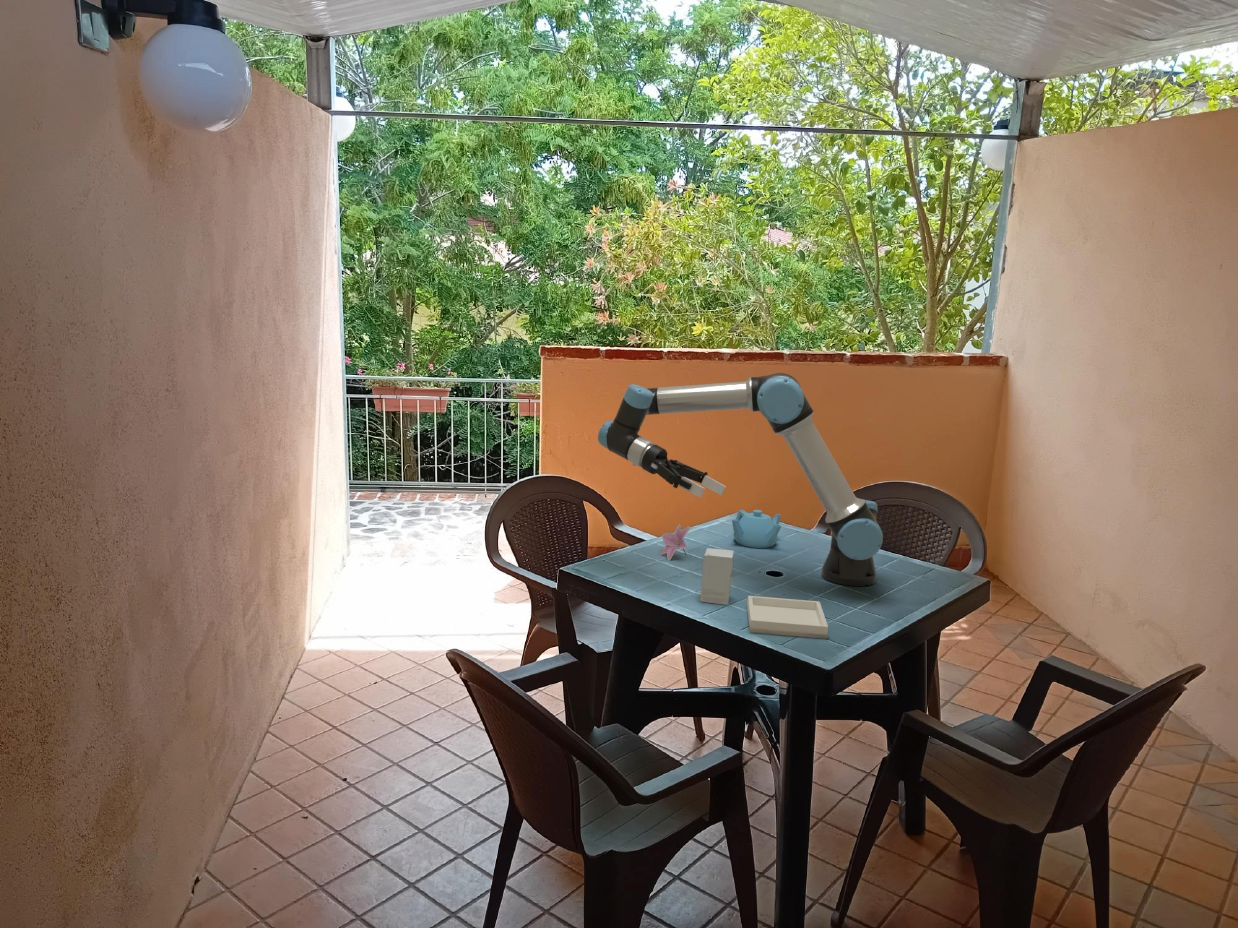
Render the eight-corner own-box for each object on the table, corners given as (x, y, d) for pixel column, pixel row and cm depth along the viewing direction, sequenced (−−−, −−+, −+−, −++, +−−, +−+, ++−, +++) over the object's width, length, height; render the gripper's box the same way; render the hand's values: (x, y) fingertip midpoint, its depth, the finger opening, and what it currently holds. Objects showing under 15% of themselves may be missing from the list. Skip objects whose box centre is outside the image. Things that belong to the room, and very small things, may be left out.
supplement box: (728, 605, 240) (732, 557, 237) (699, 602, 241) (703, 554, 239) (730, 596, 247) (734, 550, 244) (702, 593, 248) (706, 547, 246)
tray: (818, 612, 238) (819, 601, 237) (826, 638, 220) (828, 626, 220) (746, 606, 239) (747, 595, 239) (749, 632, 222) (750, 620, 221)
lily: (662, 551, 288) (651, 527, 283) (698, 540, 286) (688, 515, 282) (665, 575, 277) (654, 550, 273) (703, 563, 276) (693, 537, 271)
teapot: (780, 539, 306) (783, 507, 304) (778, 552, 291) (781, 518, 289) (733, 534, 309) (736, 503, 307) (729, 546, 294) (732, 513, 292)
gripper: (663, 467, 265) (726, 502, 256) (620, 469, 244) (687, 507, 234) (674, 443, 264) (737, 477, 254) (631, 443, 242) (699, 480, 233)
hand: (713, 492), depth 244 cm, fingers open, 13 cm apart
